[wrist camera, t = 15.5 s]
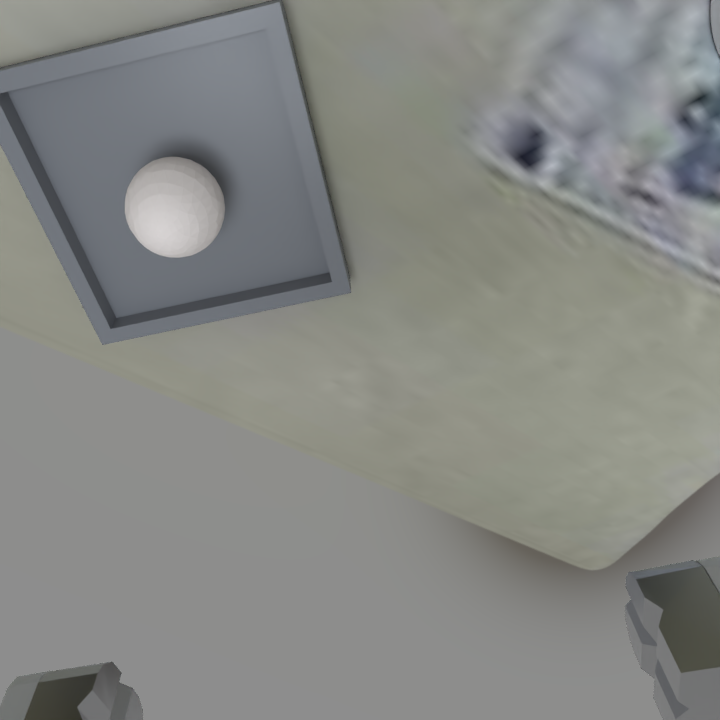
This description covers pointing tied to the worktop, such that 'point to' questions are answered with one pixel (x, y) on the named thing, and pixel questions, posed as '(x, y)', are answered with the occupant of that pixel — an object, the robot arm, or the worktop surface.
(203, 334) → the worktop surface
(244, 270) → the tray
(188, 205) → the egg
